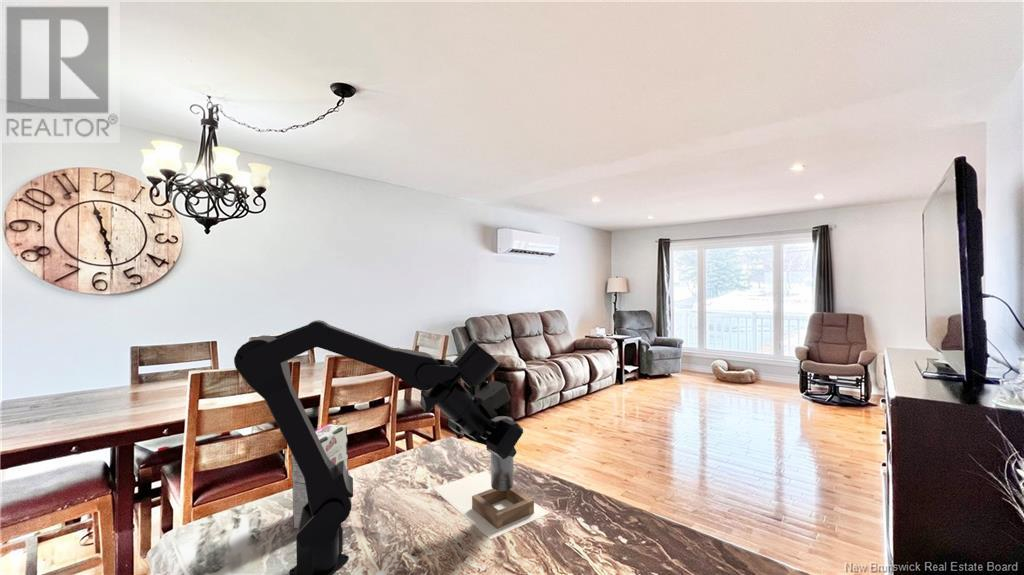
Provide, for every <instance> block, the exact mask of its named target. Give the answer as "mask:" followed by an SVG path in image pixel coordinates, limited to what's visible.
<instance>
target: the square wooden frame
mask: <svg viewBox="0 0 1024 575" xmlns="http://www.w3.org/2000/svg"><path fill="white" fill-rule="evenodd" d="M505 499H507V500H508V501H510V502H511V503H513V505H511V506H509V507H506V508H504V509H501V510H497V509H496V508H495V507H493V506H492V504H495V503H497V502H500V501H502V500H505ZM534 503H535V500H534V499H533V498H531V497H530V496H528V495H527V494H525V493H523V492H522V491H520V490H519V489H517V488H515V487H514V486H513V487H512V488H511V489H509V490H505V491H498V490H495V489H490V490H487V491H484V492H482V493H479V494H476V495H473V496H472V509H473V510H475V511H476V512H477V513H478V514H480V515H481V516H482V517H483V518H484V519H486V520H487V521H488V522H489V523H490V524H492V525H493V526H494V527H495V528H496V529H498V528H501V527H503V526H505V525H508V524H510V523H512V522H514V521H517V520H519V519H521V518H524V517H526V516H528V515H531V514H533V513H534Z"/></svg>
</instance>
